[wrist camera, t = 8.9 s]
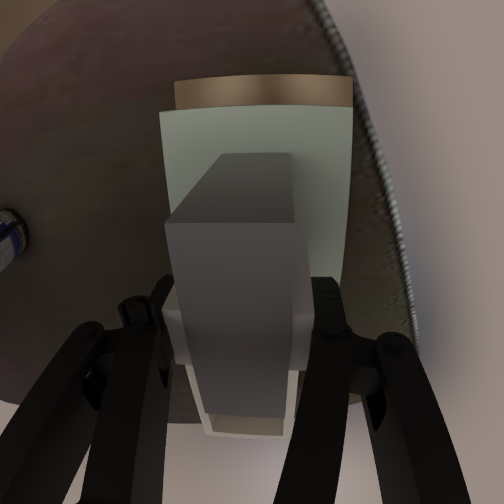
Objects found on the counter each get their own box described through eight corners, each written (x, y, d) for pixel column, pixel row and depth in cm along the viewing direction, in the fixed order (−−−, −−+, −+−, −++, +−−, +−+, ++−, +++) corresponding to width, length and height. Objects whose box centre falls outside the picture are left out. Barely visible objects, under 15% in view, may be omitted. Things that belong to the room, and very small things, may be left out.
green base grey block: (195, 304, 24) (151, 429, 15) (171, 109, 17) (54, 147, 8) (330, 307, 23) (348, 441, 14) (345, 105, 16) (424, 134, 7)
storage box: (216, 384, 41) (205, 434, 34) (201, 303, 34) (183, 358, 27) (292, 388, 40) (291, 439, 33) (297, 305, 33) (299, 363, 26)
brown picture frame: (196, 271, 32) (195, 274, 32) (176, 81, 23) (174, 81, 23) (340, 273, 31) (341, 276, 30) (351, 77, 22) (352, 76, 22)
